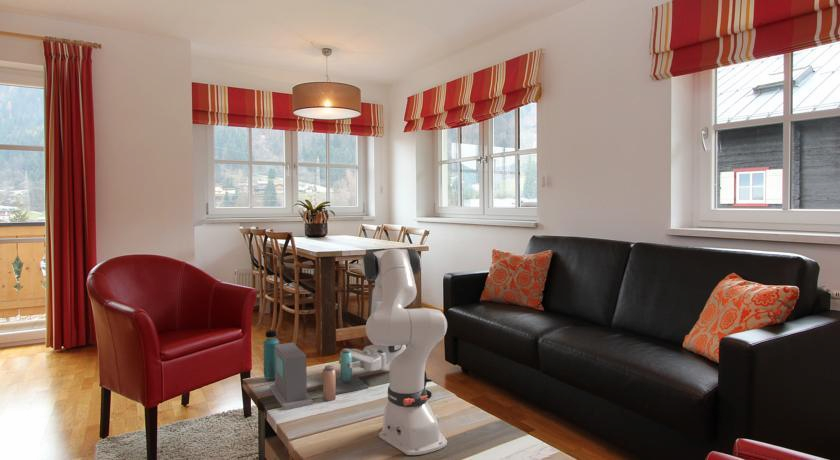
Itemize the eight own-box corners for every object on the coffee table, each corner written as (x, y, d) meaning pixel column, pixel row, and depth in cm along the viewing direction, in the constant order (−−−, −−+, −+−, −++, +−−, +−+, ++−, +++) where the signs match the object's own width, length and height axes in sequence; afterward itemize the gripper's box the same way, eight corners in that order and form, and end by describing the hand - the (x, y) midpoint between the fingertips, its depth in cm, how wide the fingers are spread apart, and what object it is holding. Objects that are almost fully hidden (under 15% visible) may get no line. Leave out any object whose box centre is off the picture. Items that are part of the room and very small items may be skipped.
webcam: (414, 391, 190) (414, 365, 189) (433, 393, 188) (433, 367, 188) (409, 399, 182) (409, 372, 182) (429, 401, 181) (429, 374, 180)
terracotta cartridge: (337, 399, 181) (337, 367, 181) (325, 402, 179) (325, 369, 178) (333, 395, 185) (333, 363, 185) (321, 397, 183) (321, 365, 182)
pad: (368, 388, 193) (368, 385, 192) (336, 394, 186) (336, 391, 186) (355, 377, 204) (355, 375, 204) (325, 383, 197) (325, 380, 197)
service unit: (312, 404, 177) (312, 356, 176) (284, 410, 172) (283, 360, 171) (295, 384, 196) (295, 340, 195) (269, 388, 191) (269, 344, 190)
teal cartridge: (353, 380, 194) (353, 350, 193) (342, 382, 192) (342, 352, 191) (349, 376, 198) (349, 347, 197) (338, 378, 196) (338, 348, 195)
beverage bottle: (277, 382, 198) (277, 333, 197) (261, 382, 198) (260, 332, 197) (282, 376, 205) (281, 328, 203) (266, 376, 205) (265, 328, 204)
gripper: (356, 343, 211) (329, 350, 201) (388, 354, 196) (360, 362, 186) (356, 357, 211) (329, 365, 201) (388, 369, 196) (360, 378, 187)
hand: (344, 363), depth 194 cm, fingers closed on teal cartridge, 4 cm apart
